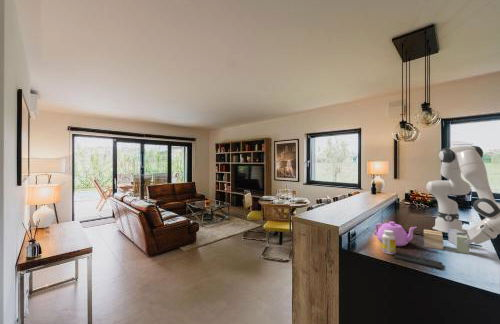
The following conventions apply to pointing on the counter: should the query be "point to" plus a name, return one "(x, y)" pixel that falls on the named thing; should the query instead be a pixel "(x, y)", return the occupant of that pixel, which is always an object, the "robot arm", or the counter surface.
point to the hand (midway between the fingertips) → (463, 241)
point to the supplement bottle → (388, 242)
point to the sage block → (462, 244)
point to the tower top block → (433, 236)
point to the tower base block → (433, 244)
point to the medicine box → (454, 235)
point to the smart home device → (419, 261)
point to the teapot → (395, 232)
